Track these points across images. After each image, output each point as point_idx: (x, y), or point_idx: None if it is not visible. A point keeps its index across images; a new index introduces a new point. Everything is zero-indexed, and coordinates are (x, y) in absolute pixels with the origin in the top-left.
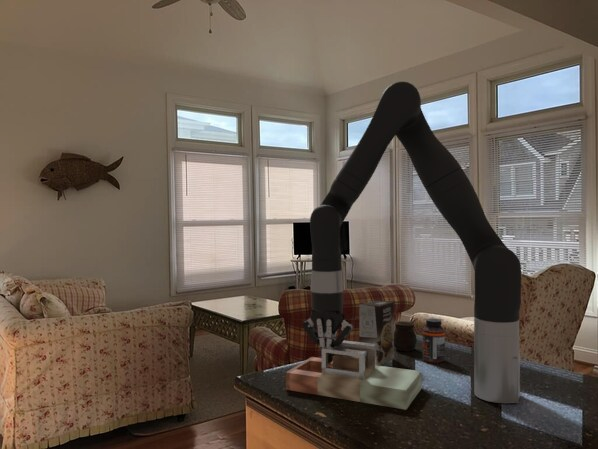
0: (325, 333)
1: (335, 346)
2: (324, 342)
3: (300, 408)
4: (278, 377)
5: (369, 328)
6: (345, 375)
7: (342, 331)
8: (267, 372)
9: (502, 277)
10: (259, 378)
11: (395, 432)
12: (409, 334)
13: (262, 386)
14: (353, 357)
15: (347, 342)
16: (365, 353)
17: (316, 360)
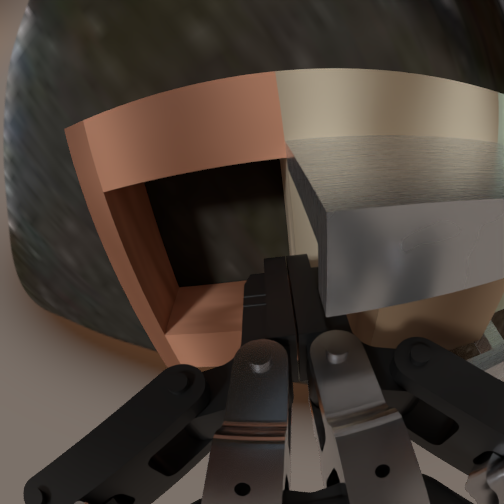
0: (287, 478)
1: (313, 226)
2: (291, 420)
3: (298, 377)
4: (71, 247)
5: None
6: None
7: (467, 472)
8: (20, 228)
9: None
10: (53, 283)
11: (473, 347)
12: None
13: (112, 326)
14: (468, 335)
15: (475, 267)
16: None
17: (131, 169)
